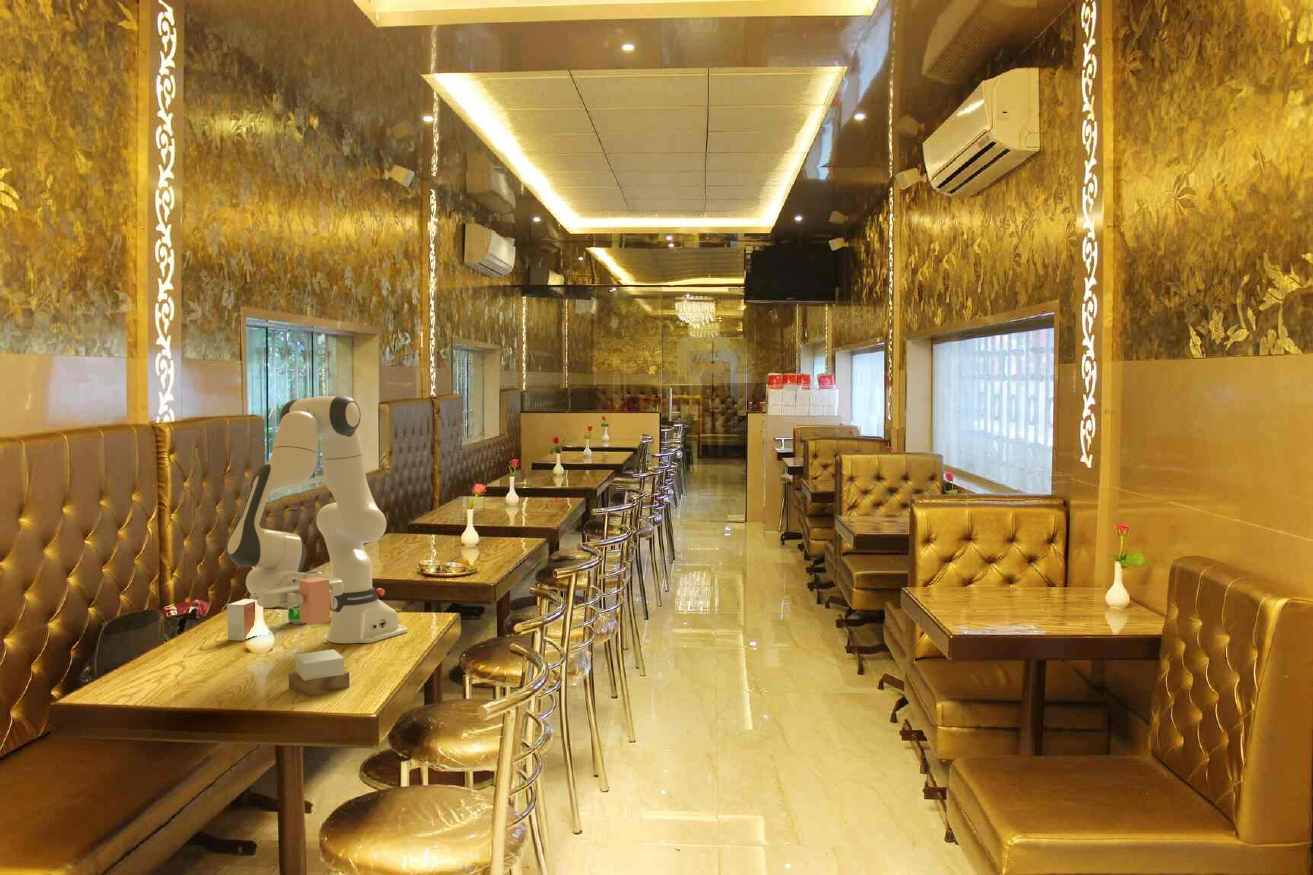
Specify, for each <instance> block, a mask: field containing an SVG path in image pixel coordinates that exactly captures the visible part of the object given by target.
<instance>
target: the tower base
mask: <svg viewBox="0 0 1313 875" xmlns="http://www.w3.org/2000/svg"><path fill="white" fill-rule="evenodd" d="M347 688H350V672H349V671H346V670H344V675H338V676H331V677H325V678H319V679H312V680H306V681H304V680H303V679H302V678H301V676H300V675H299V674H298V673H297V672H296V671H294V672H290V673H288V689H289V690H291V691H294V692H296V693H298V694H301V695H303V696H306V697H307V698H313V697H317V696H321V695H324V694H328V693H333V692H337V691H340V690H344V689H347Z"/></svg>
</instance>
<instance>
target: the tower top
mask: <svg viewBox="0 0 1313 875" xmlns="http://www.w3.org/2000/svg"><path fill="white" fill-rule="evenodd" d="M344 668H345V658H344V657H343V656H342V655H341V654H340V653H339V652H338V651H337V650H336V649H326V650H320V651H312V652H307V653H306V652H305V653H299V654H295V672H297V673H298V674H299V675H300V676H301V678H302V679H303V680H304V681H306V680H312V679H319V678H325V677H331V676H338V675H344V671H345V669H344Z"/></svg>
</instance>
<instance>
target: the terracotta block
mask: <svg viewBox="0 0 1313 875" xmlns="http://www.w3.org/2000/svg"><path fill="white" fill-rule="evenodd" d="M299 594H304V595H306V602H304V603H300V622H302V623H306V625H309V626H314V625H318V624H322V623H326V622H327V623H328V622H331V598H330V582H329V579H325V578H321V577H315V578H309V579H303V580H299Z"/></svg>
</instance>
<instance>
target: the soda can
mask: <svg viewBox="0 0 1313 875" xmlns="http://www.w3.org/2000/svg"><path fill="white" fill-rule="evenodd" d="M287 619H288V621H289V622H290V623H291V624H292V623H293V625H304V623H302V622H300V604H299V605H298V606H296V607H293V608H287Z"/></svg>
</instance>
